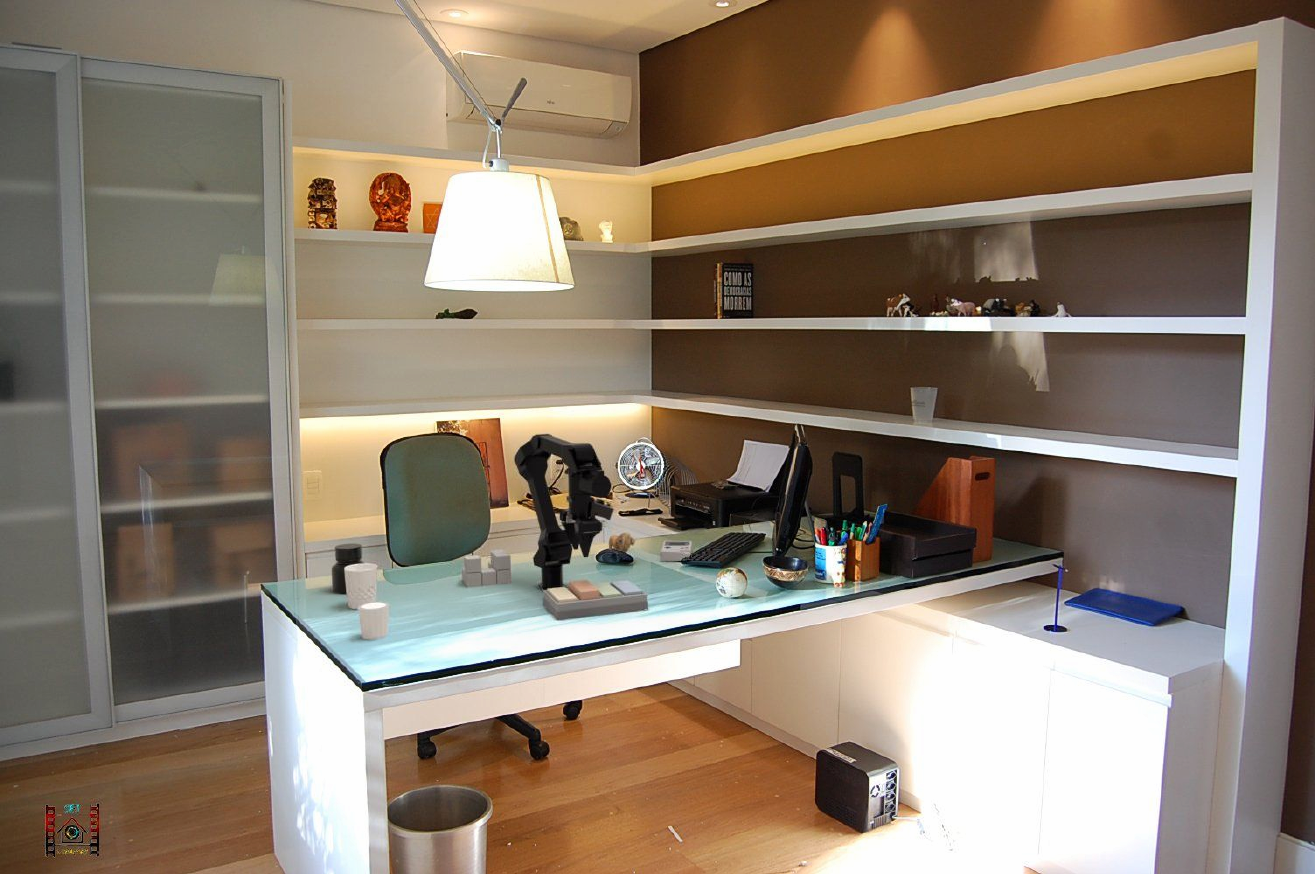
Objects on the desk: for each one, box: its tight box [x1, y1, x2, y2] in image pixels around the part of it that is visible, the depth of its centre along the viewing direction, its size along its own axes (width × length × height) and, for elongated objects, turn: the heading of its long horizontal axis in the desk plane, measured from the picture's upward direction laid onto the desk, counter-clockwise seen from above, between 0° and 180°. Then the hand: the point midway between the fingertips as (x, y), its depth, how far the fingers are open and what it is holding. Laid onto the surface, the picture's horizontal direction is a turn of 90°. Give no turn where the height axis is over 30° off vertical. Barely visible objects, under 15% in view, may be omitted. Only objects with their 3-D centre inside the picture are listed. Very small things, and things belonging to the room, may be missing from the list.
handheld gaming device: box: [660, 540, 693, 562], centre depth 292 cm, size 9×15×4 cm, turn 176°
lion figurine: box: [608, 532, 637, 553], centre depth 289 cm, size 15×5×9 cm, turn 32°
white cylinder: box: [357, 601, 390, 640], centre depth 217 cm, size 7×7×7 cm
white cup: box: [344, 562, 378, 610], centre depth 240 cm, size 8×8×10 cm
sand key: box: [547, 587, 577, 603], centre depth 235 cm, size 11×5×2 cm, turn 21°
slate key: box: [611, 580, 644, 596], centre depth 241 cm, size 11×5×2 cm, turn 21°
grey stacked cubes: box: [461, 549, 512, 588], centre depth 265 cm, size 12×12×8 cm
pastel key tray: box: [542, 583, 649, 621], centre depth 238 cm, size 14×23×4 cm, turn 111°
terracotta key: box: [568, 579, 599, 601], centre depth 237 cm, size 11×5×2 cm, turn 21°
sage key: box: [591, 582, 621, 598], centre depth 239 cm, size 11×5×2 cm, turn 21°
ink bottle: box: [331, 543, 365, 595], centre depth 255 cm, size 10×9×12 cm
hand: (580, 553), depth 245 cm, fingers open, 9 cm apart
